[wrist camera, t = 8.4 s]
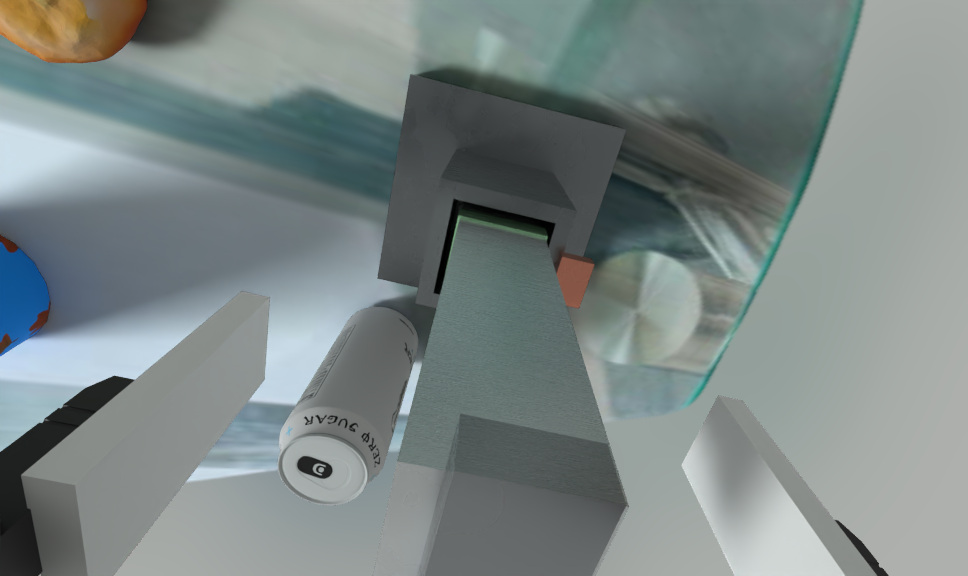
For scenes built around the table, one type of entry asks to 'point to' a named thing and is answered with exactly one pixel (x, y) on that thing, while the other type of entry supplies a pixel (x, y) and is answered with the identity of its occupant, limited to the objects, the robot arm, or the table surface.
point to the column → (501, 423)
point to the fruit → (71, 27)
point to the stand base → (492, 180)
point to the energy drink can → (349, 409)
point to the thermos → (20, 297)
